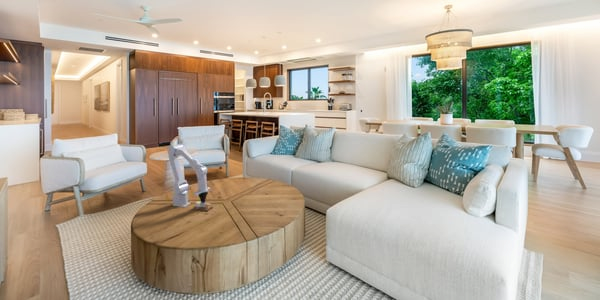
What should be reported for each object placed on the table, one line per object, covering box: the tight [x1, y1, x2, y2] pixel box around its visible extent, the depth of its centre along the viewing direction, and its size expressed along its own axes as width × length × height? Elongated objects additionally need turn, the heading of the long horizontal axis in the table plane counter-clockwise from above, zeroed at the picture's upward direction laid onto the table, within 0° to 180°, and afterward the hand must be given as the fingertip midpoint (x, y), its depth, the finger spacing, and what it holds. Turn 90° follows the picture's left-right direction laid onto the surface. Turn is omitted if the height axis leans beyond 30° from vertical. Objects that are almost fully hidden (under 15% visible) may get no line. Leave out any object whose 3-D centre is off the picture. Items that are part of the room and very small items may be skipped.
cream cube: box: [195, 200, 201, 207], centre depth 208 cm, size 3×3×3 cm
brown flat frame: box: [193, 205, 214, 212], centre depth 207 cm, size 12×7×1 cm, turn 72°
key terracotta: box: [205, 202, 212, 209], centre depth 206 cm, size 3×3×3 cm
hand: (203, 202), depth 206 cm, fingers closed, pressing on key slate
